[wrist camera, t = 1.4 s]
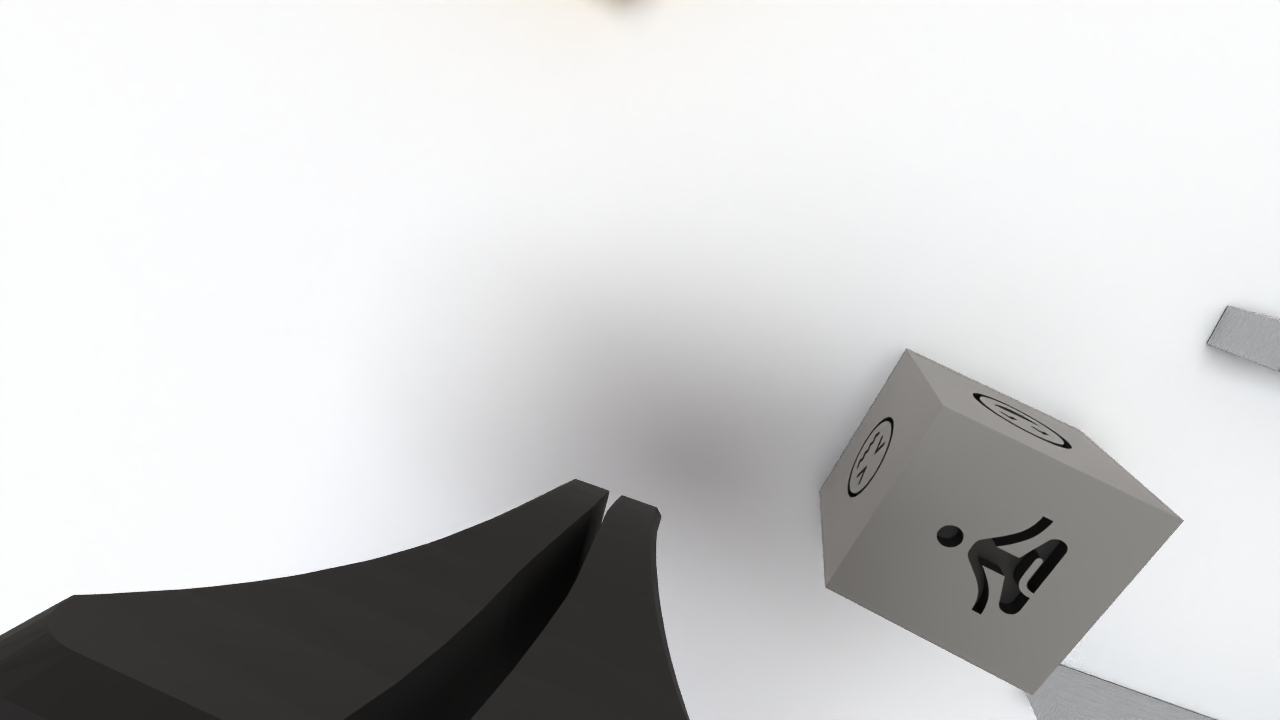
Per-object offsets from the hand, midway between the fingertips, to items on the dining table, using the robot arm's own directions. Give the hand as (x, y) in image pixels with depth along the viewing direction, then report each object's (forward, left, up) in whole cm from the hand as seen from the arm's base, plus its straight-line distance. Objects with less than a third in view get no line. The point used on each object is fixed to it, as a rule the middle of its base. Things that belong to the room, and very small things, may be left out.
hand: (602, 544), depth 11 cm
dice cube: (0, -7, -10) cm, 12 cm away
